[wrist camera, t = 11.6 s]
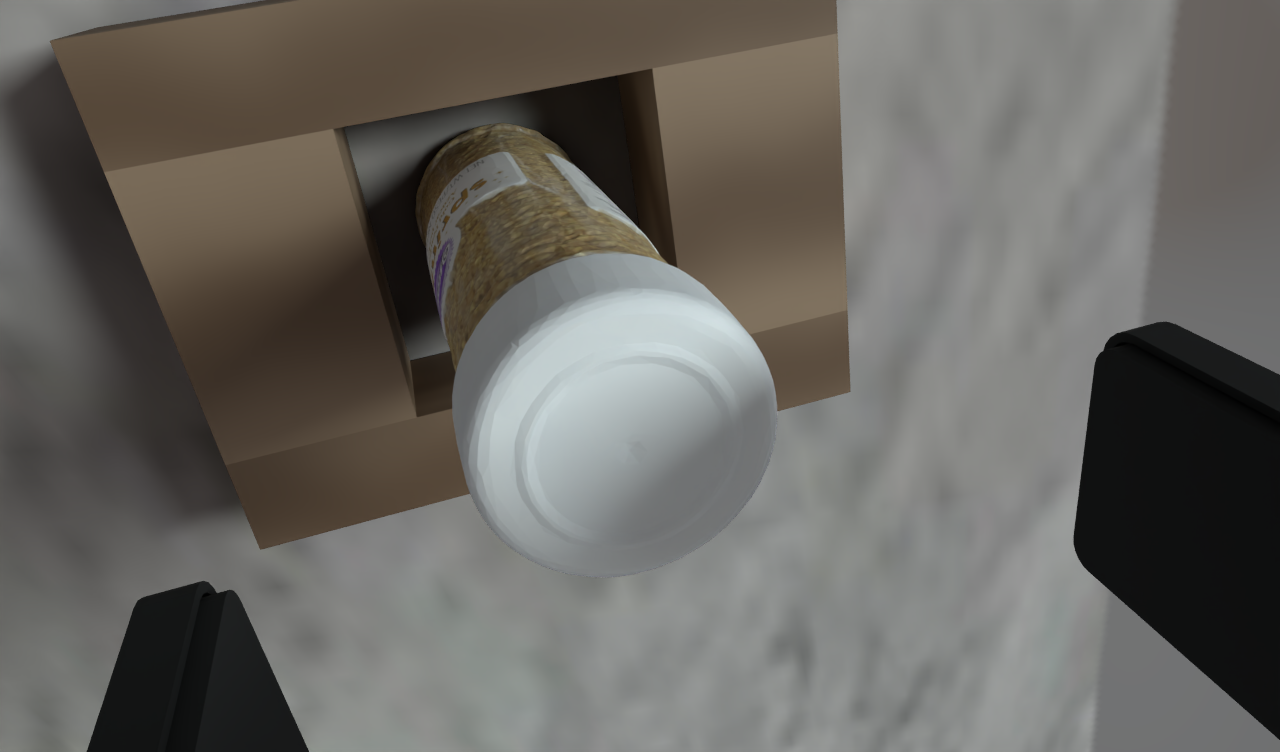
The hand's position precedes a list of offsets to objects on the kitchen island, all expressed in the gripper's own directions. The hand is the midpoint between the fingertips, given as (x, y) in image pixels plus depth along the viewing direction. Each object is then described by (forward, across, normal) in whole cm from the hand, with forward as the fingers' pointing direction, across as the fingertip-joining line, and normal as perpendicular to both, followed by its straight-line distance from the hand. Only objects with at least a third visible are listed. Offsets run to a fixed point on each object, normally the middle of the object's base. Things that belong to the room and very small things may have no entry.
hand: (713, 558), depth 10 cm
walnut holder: (+16, 0, +1) cm, 16 cm away
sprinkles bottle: (+17, 0, +1) cm, 17 cm away
